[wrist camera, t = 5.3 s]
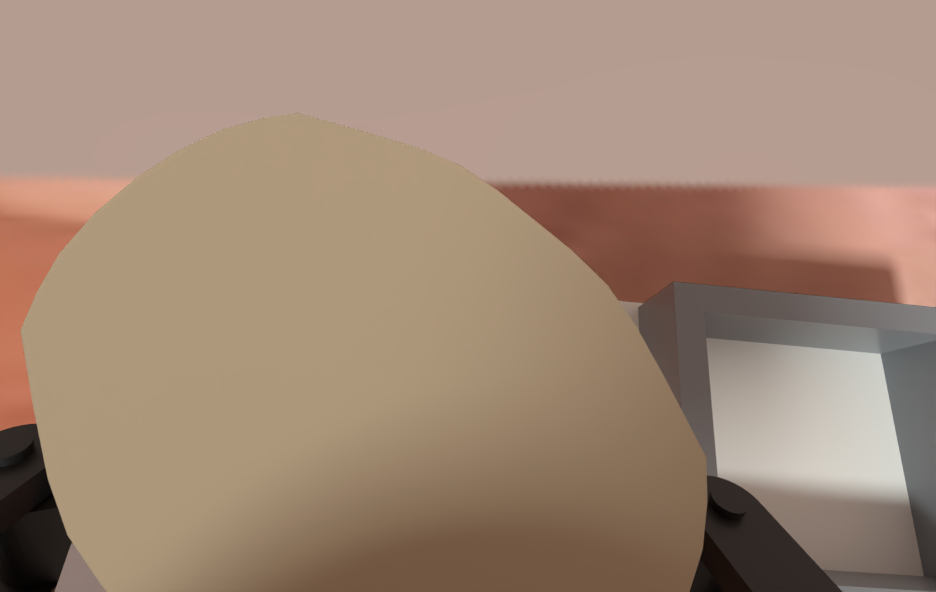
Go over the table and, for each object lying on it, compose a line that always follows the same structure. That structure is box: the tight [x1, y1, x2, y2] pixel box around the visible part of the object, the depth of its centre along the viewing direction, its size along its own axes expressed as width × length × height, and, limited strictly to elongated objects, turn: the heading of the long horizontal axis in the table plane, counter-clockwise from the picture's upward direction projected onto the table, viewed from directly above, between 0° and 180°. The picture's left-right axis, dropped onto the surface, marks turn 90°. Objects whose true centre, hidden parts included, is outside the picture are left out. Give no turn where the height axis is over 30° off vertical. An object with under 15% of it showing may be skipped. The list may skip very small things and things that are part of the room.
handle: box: [21, 113, 707, 592], centre depth 12 cm, size 5×6×15 cm
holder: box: [619, 282, 936, 592], centre depth 18 cm, size 15×10×4 cm
